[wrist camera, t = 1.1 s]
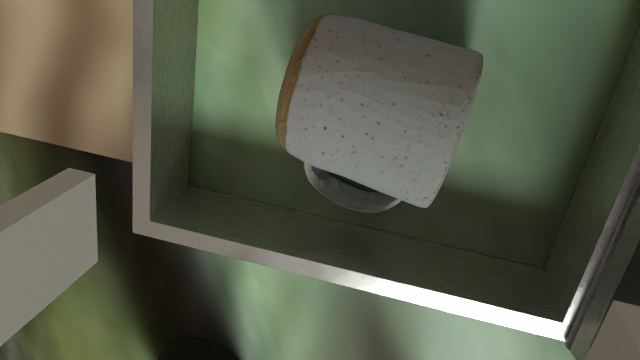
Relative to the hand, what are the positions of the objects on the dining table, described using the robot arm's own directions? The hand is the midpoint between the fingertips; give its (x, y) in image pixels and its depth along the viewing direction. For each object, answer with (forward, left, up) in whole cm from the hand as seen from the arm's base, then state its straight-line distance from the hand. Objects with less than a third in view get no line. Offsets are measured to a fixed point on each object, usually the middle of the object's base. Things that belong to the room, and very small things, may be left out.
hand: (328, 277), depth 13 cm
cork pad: (-19, 0, -17) cm, 25 cm away
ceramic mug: (0, -1, -17) cm, 17 cm away
